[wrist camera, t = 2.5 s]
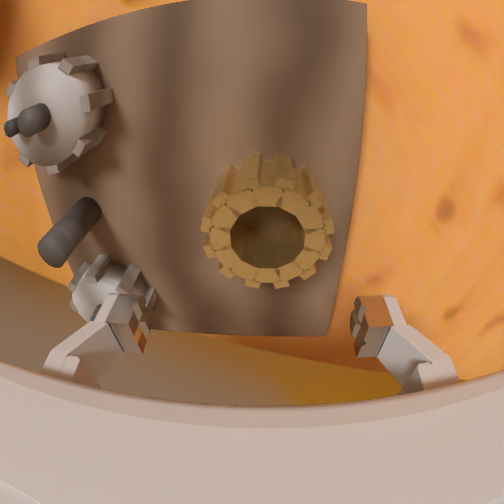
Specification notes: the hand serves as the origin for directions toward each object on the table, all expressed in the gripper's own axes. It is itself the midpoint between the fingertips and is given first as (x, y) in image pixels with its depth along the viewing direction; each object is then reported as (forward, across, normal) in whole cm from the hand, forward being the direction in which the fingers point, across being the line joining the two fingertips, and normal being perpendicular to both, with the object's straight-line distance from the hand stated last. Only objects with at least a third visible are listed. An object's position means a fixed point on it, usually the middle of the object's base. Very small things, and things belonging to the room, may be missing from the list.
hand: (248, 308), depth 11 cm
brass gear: (+8, -1, 0) cm, 8 cm away
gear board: (+10, +5, 0) cm, 11 cm away
